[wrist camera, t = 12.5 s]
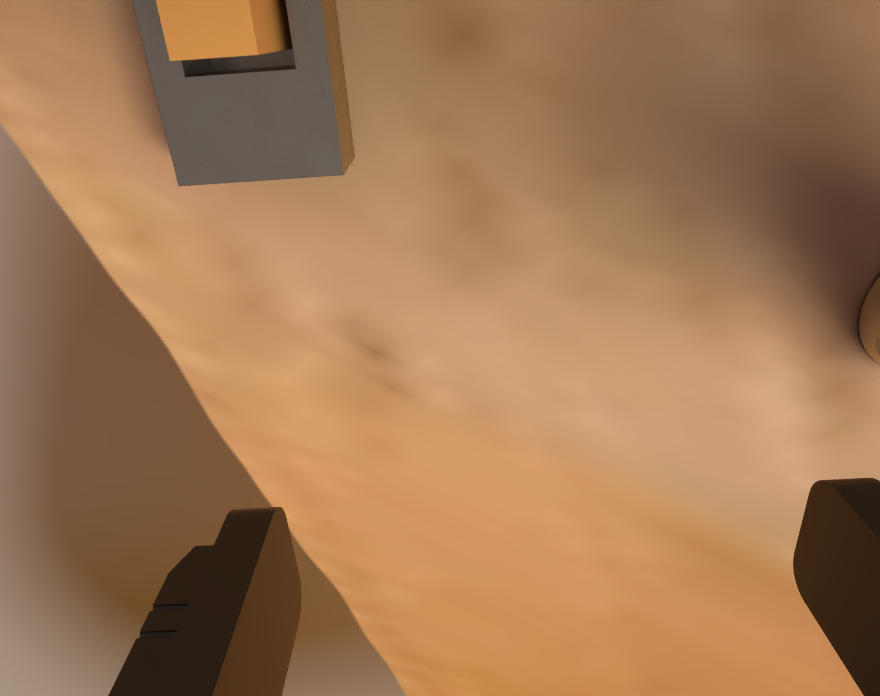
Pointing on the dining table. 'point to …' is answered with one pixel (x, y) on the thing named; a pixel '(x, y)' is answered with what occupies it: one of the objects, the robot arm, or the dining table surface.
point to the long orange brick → (223, 28)
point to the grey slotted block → (255, 103)
